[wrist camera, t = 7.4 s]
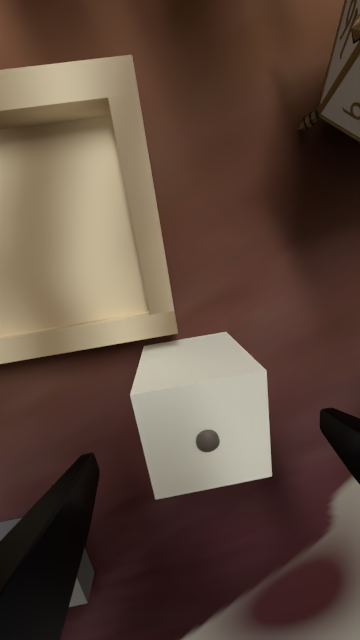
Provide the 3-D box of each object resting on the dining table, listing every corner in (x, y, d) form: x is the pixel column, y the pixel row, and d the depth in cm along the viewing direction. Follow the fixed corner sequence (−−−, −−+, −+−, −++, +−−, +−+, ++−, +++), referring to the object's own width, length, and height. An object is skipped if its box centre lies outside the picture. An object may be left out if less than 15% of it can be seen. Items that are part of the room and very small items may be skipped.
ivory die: (225, 331, 12) (268, 372, 7) (232, 402, 13) (273, 479, 8) (141, 345, 12) (125, 398, 7) (156, 416, 13) (151, 504, 8)
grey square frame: (69, 508, 14) (58, 535, 13) (94, 572, 16) (87, 602, 14) (-32, 528, 14) (-55, 558, 12) (4, 591, 16) (-12, 625, 14)
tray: (137, 89, 9) (132, 54, 8) (176, 325, 12) (178, 333, 10) (-122, 122, 9) (-181, 90, 7) (-20, 359, 11) (-47, 372, 10)
